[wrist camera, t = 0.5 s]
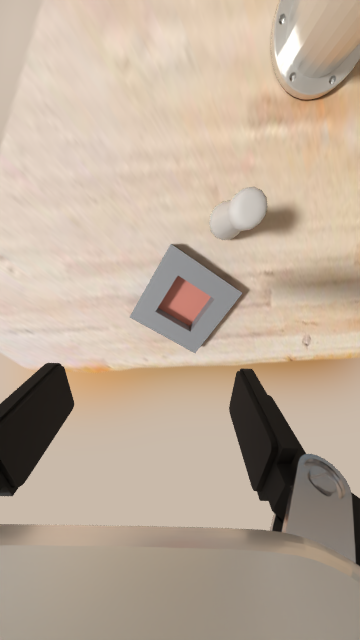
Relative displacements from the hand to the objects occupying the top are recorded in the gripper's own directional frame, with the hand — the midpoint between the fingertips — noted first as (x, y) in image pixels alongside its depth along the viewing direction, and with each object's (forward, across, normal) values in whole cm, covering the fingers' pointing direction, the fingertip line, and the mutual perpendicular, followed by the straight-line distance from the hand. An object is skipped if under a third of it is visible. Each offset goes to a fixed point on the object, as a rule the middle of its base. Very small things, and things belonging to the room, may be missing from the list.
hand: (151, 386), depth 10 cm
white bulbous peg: (+28, -9, -11) cm, 32 cm away
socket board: (+28, -3, +4) cm, 28 cm away
